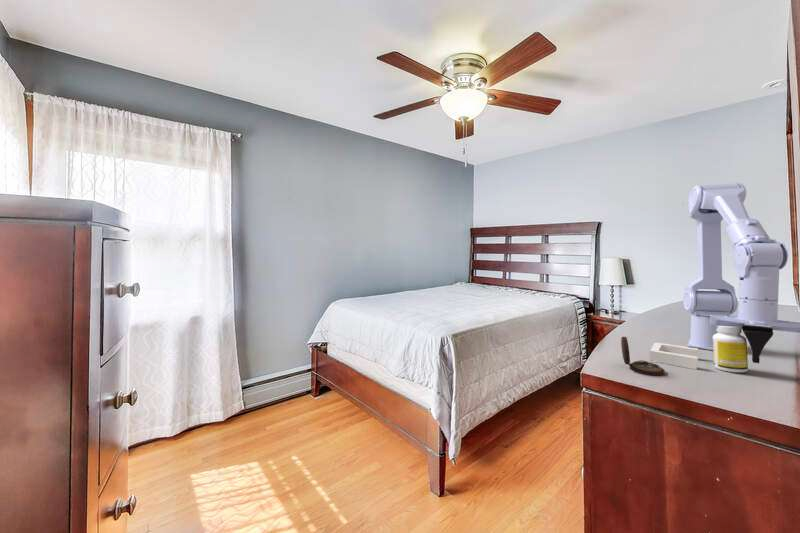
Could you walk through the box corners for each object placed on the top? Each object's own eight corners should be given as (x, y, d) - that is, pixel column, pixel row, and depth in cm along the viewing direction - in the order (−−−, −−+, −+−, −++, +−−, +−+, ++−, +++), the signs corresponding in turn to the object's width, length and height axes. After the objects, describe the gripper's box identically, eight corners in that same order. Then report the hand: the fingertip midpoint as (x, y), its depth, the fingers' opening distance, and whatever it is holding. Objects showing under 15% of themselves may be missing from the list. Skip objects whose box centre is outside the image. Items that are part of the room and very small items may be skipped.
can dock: (654, 351, 87) (655, 342, 87) (698, 358, 81) (698, 348, 81) (649, 360, 80) (649, 350, 80) (696, 369, 74) (697, 358, 74)
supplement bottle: (755, 373, 70) (752, 327, 70) (724, 372, 72) (722, 328, 72) (736, 365, 76) (733, 323, 76) (708, 365, 77) (705, 323, 77)
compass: (667, 378, 69) (668, 344, 69) (622, 371, 73) (623, 339, 73) (659, 366, 76) (660, 335, 76) (618, 361, 80) (619, 331, 80)
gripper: (711, 297, 72) (709, 358, 73) (816, 304, 62) (813, 375, 63) (711, 294, 78) (709, 352, 78) (808, 300, 68) (805, 366, 68)
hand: (755, 361), depth 71 cm, fingers closed
